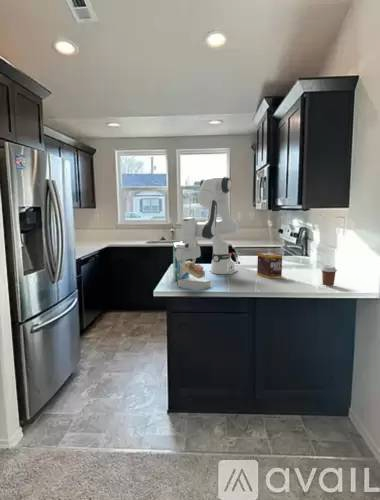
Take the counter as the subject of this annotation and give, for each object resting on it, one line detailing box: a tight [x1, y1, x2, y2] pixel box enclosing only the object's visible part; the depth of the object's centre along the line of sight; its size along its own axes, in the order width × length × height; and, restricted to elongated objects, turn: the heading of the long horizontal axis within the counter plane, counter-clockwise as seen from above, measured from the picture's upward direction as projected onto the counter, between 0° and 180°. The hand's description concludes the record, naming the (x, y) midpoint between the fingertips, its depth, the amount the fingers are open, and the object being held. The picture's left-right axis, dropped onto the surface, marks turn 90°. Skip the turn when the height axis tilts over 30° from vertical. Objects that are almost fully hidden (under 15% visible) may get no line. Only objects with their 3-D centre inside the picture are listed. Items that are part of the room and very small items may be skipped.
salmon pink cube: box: [193, 264, 204, 272], centre depth 214 cm, size 4×4×4 cm
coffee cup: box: [320, 265, 338, 287], centre depth 218 cm, size 9×9×12 cm
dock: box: [177, 276, 211, 292], centre depth 217 cm, size 12×16×4 cm
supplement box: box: [256, 252, 283, 279], centre depth 248 cm, size 10×15×16 cm
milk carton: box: [172, 242, 190, 282], centre depth 235 cm, size 9×9×25 cm
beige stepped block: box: [180, 260, 206, 279], centre depth 216 cm, size 6×15×5 cm, turn 51°
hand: (188, 266), depth 218 cm, fingers closed on beige stepped block, 6 cm apart
